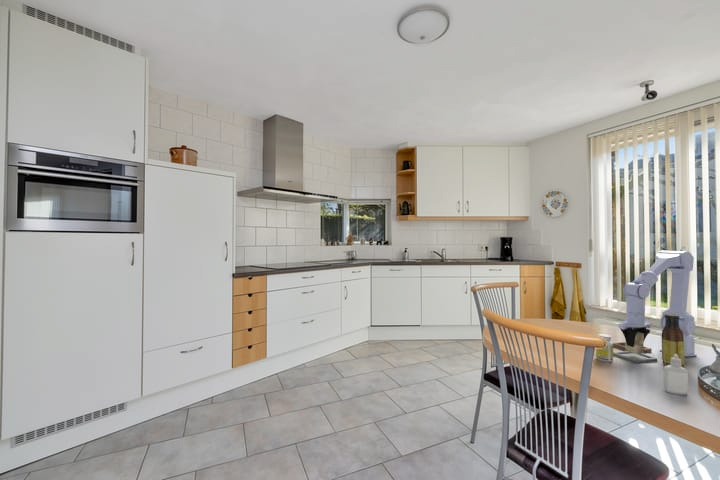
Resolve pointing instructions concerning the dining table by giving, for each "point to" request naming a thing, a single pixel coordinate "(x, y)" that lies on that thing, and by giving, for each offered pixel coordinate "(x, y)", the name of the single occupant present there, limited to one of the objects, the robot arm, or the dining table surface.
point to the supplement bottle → (605, 350)
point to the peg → (636, 344)
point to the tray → (635, 357)
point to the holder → (622, 344)
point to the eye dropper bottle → (675, 377)
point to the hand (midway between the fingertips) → (634, 345)
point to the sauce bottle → (672, 340)
